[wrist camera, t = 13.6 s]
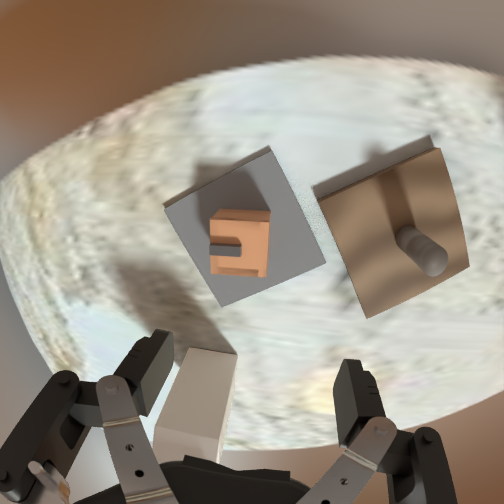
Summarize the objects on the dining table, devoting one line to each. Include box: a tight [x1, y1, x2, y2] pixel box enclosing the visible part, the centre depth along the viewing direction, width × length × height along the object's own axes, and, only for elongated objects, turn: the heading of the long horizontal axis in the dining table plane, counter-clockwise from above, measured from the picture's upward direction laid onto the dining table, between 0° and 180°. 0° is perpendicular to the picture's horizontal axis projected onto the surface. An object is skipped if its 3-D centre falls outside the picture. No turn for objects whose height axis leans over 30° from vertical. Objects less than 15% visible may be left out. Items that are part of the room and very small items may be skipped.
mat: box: [164, 151, 326, 307], centre depth 34 cm, size 14×14×1 cm
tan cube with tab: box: [209, 209, 271, 278], centre depth 31 cm, size 6×6×6 cm
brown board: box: [317, 148, 470, 319], centre depth 28 cm, size 16×16×9 cm
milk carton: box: [152, 347, 238, 464], centre depth 33 cm, size 7×7×19 cm
